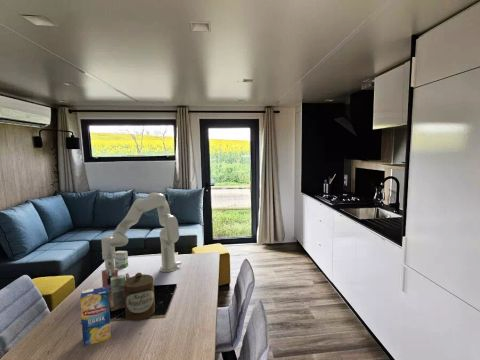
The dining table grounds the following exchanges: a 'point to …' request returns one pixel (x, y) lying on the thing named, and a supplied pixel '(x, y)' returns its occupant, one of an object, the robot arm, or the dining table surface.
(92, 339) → the beverage box
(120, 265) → the ink box
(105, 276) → the salmon red block
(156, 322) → the dining table surface
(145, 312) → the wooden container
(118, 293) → the shelf
